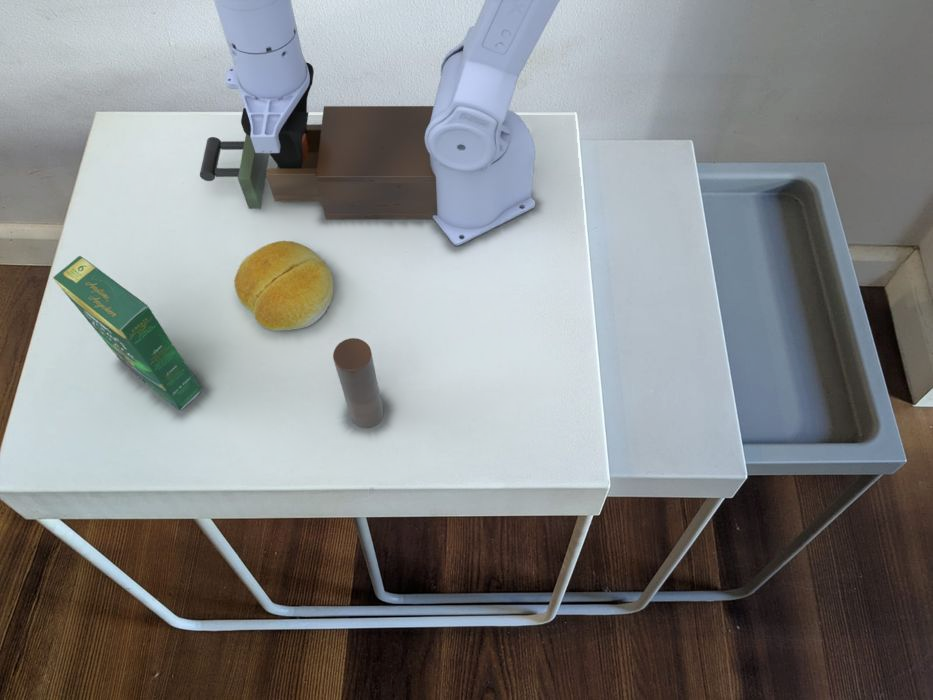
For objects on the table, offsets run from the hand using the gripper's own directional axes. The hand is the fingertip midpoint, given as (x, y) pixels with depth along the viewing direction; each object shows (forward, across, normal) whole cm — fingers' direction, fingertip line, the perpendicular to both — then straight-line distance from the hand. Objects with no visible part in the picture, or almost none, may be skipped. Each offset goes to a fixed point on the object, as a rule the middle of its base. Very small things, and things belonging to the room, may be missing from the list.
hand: (293, 152), depth 74 cm
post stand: (+5, +26, +8) cm, 27 cm away
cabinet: (+5, 0, +9) cm, 10 cm away
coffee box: (+5, +22, -10) cm, 24 cm away
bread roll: (+5, +13, 0) cm, 14 cm away
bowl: (0, 0, 0) cm, 0 cm away
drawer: (+4, 0, -1) cm, 4 cm away
